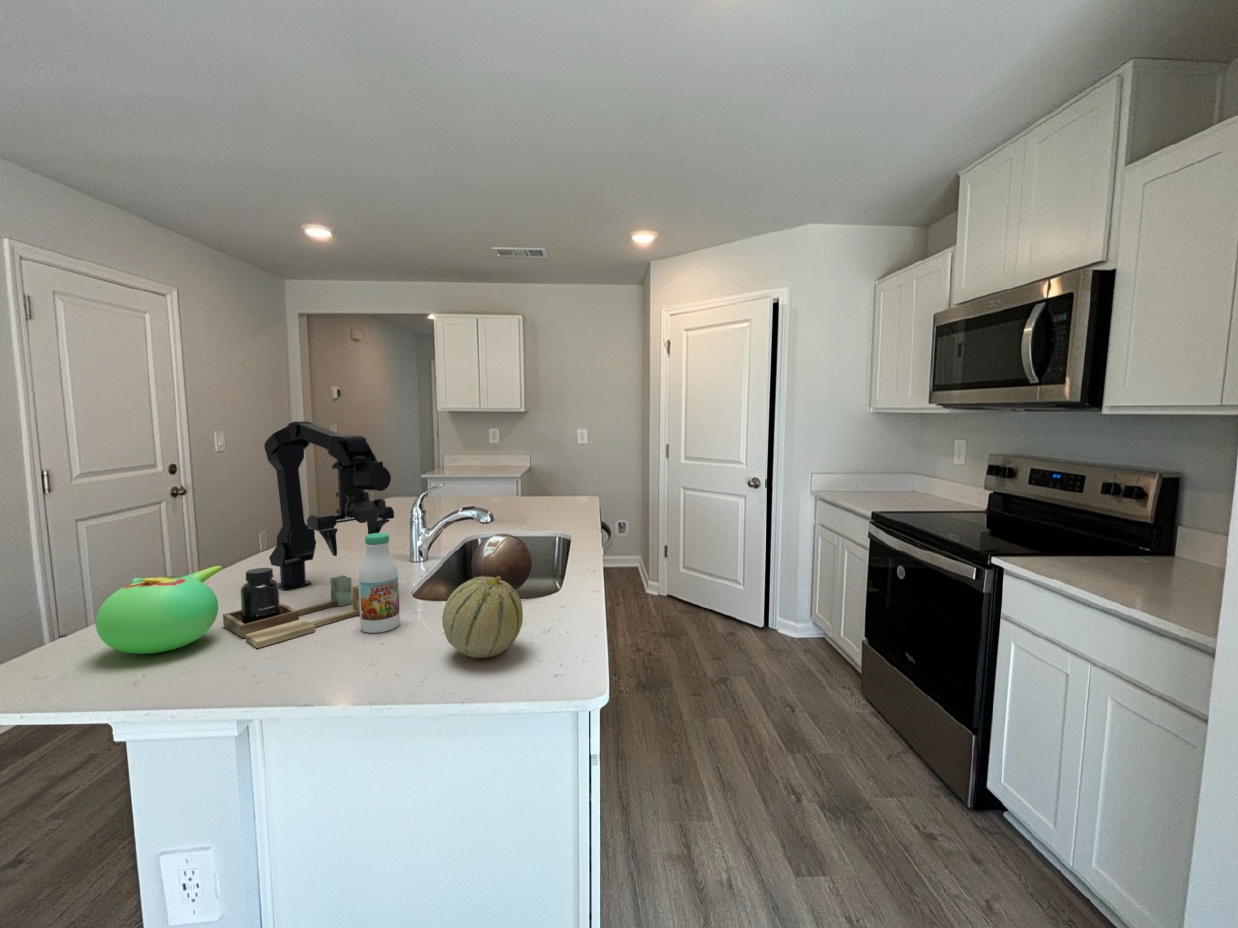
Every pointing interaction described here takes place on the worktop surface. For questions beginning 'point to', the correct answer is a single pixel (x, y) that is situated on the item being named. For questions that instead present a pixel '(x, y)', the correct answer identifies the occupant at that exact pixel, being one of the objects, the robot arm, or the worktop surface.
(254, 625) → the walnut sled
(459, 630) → the cantaloupe
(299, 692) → the worktop surface
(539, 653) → the worktop surface
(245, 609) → the supplement bottle
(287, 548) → the robot arm
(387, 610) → the milk bottle
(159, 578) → the green spouted ovoid
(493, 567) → the wooden sphere
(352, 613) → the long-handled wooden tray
